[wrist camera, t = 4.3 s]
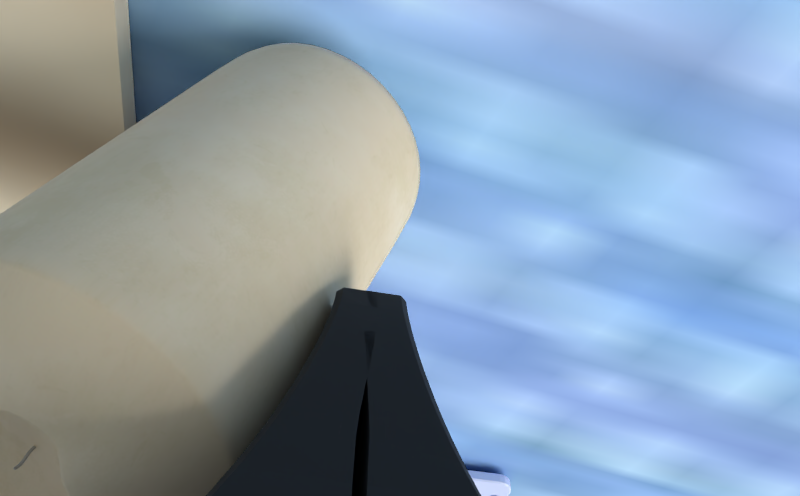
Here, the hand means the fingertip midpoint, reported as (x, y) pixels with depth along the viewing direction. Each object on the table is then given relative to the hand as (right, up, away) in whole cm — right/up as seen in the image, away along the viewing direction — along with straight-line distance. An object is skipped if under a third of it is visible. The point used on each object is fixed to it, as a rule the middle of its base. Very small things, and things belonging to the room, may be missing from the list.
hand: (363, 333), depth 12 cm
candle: (-1, +4, +5) cm, 6 cm away
